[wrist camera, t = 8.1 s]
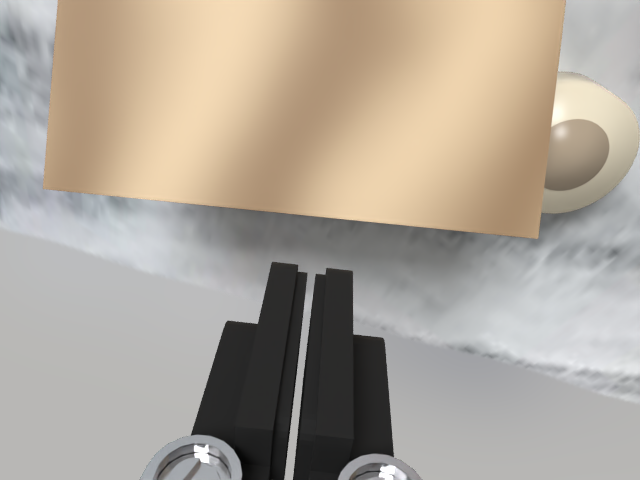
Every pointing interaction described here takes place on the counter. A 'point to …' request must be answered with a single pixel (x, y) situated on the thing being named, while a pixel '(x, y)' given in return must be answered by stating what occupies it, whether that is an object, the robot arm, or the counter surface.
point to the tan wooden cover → (311, 107)
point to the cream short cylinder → (586, 144)
